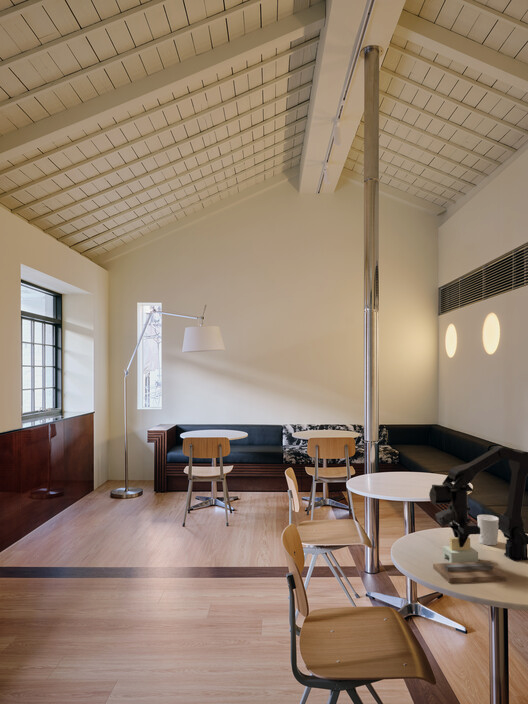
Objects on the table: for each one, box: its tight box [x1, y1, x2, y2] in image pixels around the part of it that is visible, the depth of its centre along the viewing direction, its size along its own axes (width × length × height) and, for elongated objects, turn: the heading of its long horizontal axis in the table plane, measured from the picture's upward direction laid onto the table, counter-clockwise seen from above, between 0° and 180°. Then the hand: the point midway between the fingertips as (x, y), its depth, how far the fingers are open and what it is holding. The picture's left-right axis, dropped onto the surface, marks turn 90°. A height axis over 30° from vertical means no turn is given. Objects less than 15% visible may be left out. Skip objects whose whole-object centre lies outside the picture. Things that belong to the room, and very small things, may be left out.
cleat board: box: [432, 561, 508, 584], centre depth 169 cm, size 20×12×3 cm, turn 95°
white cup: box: [476, 514, 499, 546], centre depth 199 cm, size 8×8×10 cm
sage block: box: [442, 536, 479, 563], centre depth 181 cm, size 10×7×8 cm
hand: (459, 546), depth 181 cm, fingers closed on sage block
